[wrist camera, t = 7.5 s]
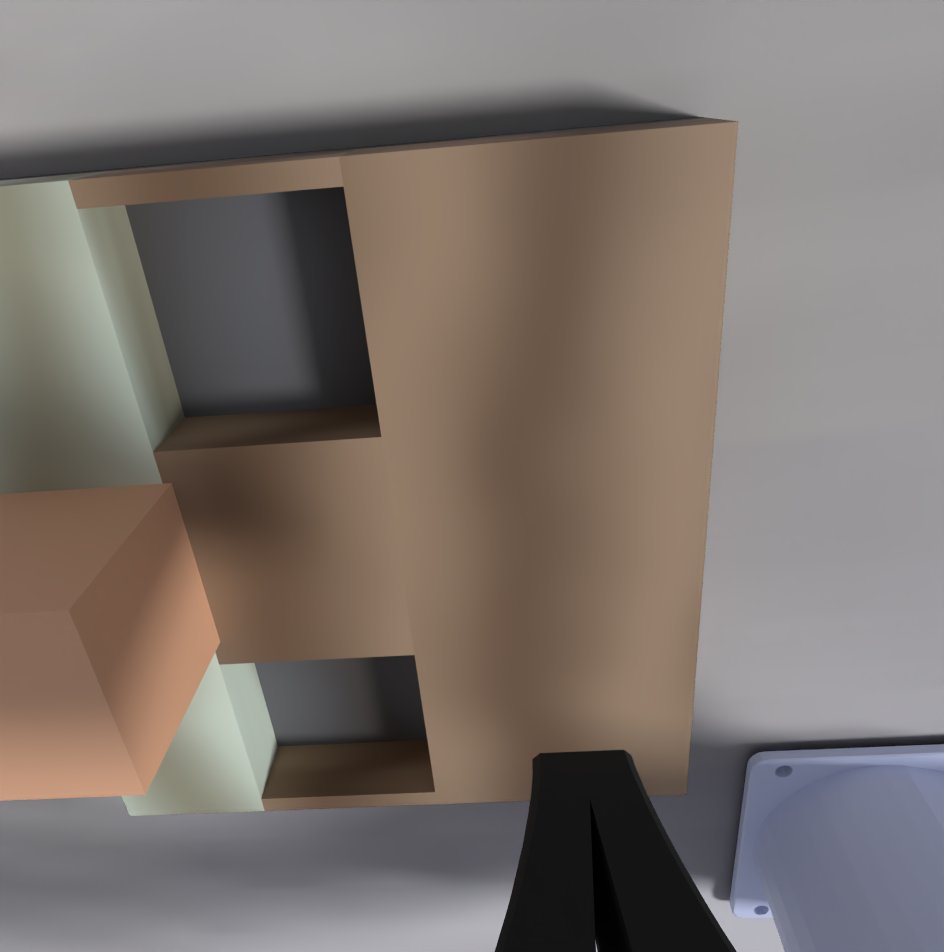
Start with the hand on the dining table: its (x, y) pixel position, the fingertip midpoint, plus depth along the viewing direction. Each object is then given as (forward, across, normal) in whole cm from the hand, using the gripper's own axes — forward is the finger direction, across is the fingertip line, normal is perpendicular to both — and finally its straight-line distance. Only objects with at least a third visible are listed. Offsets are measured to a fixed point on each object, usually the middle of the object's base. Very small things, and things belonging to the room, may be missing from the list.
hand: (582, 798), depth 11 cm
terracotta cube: (+7, +10, 0) cm, 12 cm away
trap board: (+9, +4, 0) cm, 10 cm away
